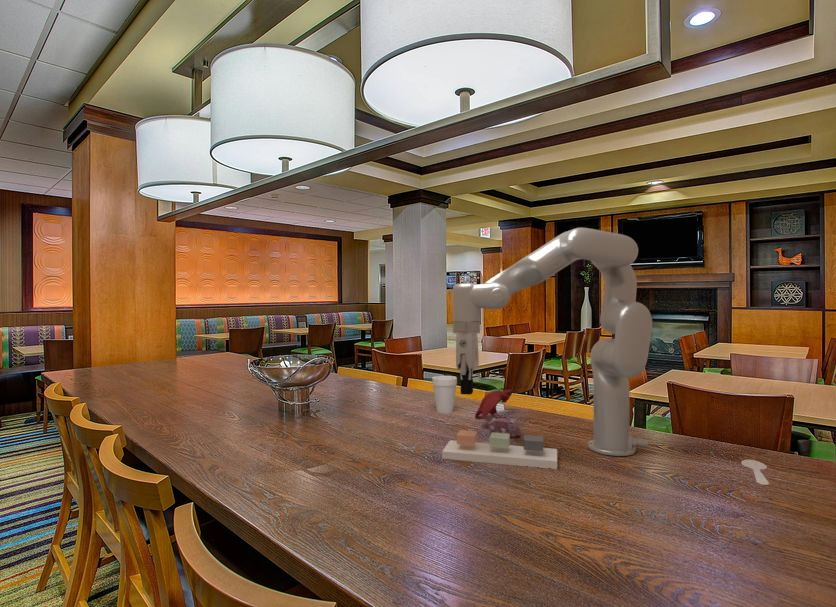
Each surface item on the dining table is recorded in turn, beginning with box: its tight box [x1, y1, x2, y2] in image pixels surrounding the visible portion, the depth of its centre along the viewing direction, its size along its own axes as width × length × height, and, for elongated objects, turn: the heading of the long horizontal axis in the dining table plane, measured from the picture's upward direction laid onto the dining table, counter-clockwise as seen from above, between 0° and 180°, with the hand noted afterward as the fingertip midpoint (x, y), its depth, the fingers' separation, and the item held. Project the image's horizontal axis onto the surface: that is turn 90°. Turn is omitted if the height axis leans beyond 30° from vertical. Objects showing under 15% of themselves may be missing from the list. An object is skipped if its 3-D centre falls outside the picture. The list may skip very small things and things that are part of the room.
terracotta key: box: [456, 429, 479, 446], centre depth 129 cm, size 5×5×2 cm
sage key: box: [488, 432, 511, 448], centre depth 126 cm, size 5×5×2 cm
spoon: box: [740, 458, 770, 486], centre depth 115 cm, size 5×18×1 cm, turn 152°
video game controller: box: [487, 417, 521, 438], centre depth 146 cm, size 10×5×7 cm, turn 62°
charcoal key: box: [523, 434, 545, 451], centre depth 124 cm, size 5×5×2 cm
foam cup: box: [432, 375, 458, 414], centre depth 178 cm, size 10×9×13 cm
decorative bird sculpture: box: [474, 389, 514, 421], centre depth 166 cm, size 28×9×15 cm
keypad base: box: [441, 439, 558, 470], centre depth 126 cm, size 30×10×2 cm, turn 74°
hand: (466, 393), depth 129 cm, fingers closed
